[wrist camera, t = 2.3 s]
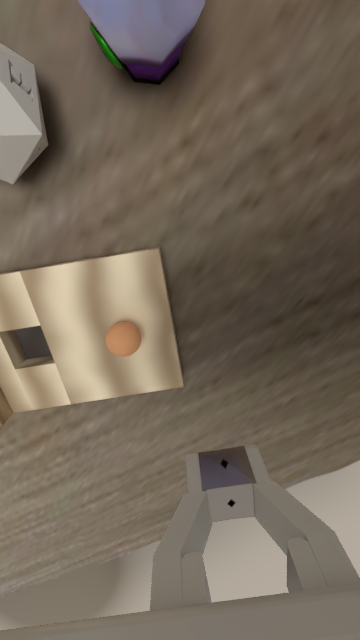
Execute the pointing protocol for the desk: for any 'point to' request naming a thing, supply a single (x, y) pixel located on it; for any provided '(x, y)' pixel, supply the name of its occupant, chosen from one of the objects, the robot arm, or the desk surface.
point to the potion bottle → (143, 33)
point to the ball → (123, 339)
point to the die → (19, 116)
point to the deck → (84, 332)
